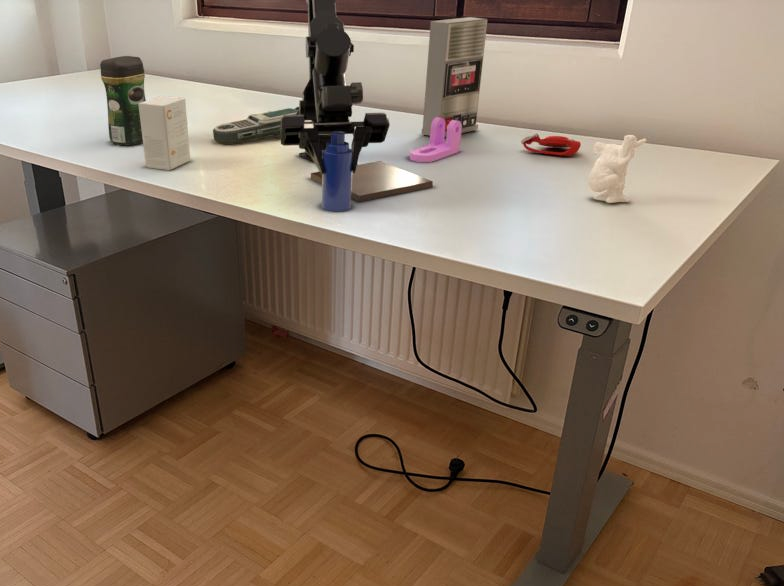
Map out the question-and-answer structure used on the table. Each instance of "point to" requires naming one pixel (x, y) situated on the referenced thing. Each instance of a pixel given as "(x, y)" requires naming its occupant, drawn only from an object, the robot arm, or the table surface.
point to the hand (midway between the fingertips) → (338, 172)
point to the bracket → (439, 142)
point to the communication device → (252, 127)
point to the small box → (164, 132)
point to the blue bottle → (337, 174)
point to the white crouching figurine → (612, 169)
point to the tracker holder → (553, 144)
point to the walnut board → (381, 181)
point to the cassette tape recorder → (454, 72)
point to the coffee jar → (124, 98)
